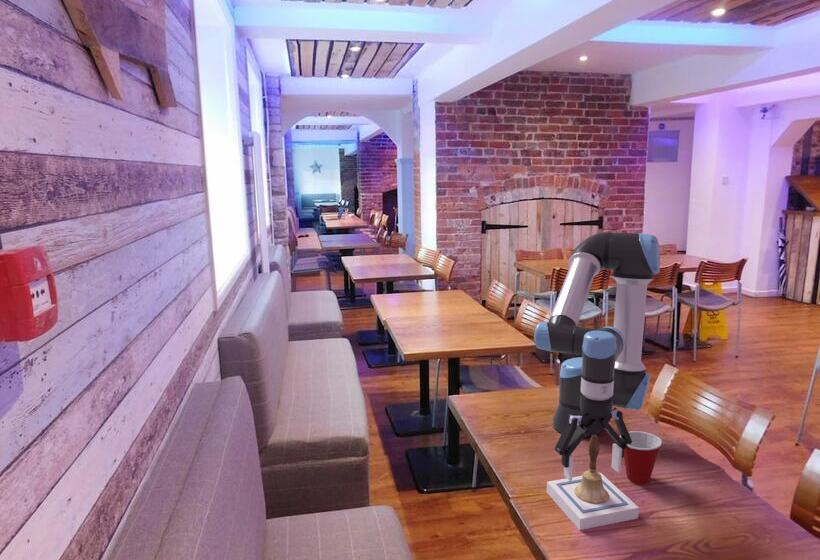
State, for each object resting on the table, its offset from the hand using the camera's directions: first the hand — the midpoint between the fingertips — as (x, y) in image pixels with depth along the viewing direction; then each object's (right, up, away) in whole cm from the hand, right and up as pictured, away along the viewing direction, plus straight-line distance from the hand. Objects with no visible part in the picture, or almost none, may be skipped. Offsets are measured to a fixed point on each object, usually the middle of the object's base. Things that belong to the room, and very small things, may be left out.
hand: (592, 473), depth 135 cm
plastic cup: (+17, -6, +13) cm, 22 cm away
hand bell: (0, -6, +1) cm, 6 cm away
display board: (0, -9, +2) cm, 9 cm away
